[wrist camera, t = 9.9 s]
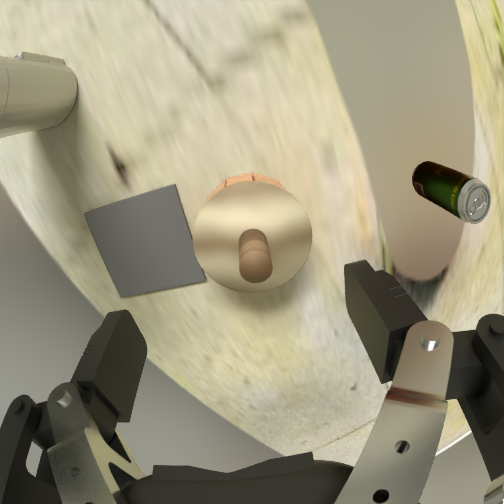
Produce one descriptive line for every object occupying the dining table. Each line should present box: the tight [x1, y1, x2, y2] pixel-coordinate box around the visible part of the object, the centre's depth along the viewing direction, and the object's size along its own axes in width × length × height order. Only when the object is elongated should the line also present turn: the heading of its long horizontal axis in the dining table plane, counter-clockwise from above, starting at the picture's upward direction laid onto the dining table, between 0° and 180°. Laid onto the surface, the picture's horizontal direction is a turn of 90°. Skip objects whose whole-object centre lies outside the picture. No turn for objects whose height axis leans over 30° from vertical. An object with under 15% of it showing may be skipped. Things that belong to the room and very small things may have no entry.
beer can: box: [412, 161, 491, 224], centre depth 31 cm, size 5×5×12 cm
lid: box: [193, 181, 312, 292], centre depth 29 cm, size 13×13×7 cm
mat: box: [84, 184, 206, 297], centre depth 39 cm, size 14×14×1 cm
